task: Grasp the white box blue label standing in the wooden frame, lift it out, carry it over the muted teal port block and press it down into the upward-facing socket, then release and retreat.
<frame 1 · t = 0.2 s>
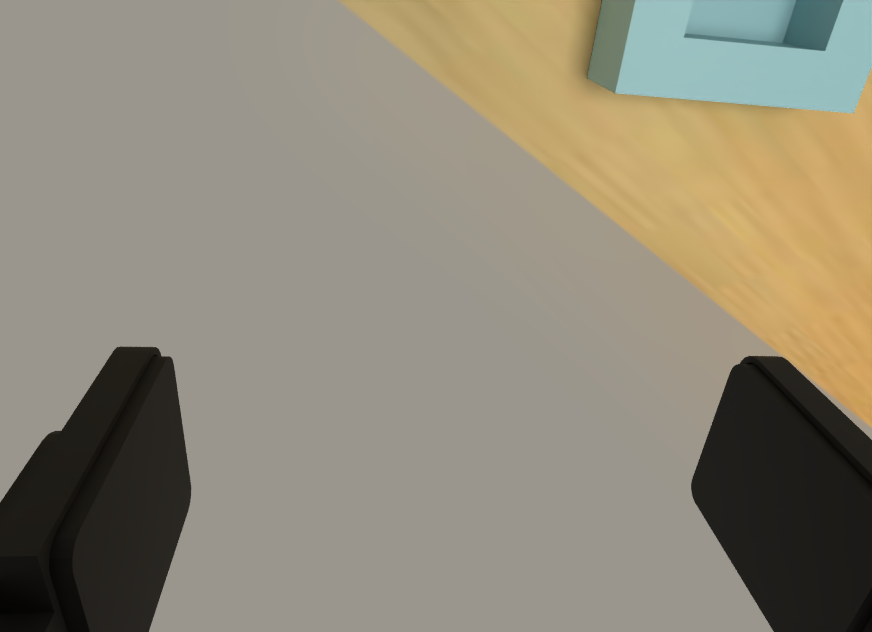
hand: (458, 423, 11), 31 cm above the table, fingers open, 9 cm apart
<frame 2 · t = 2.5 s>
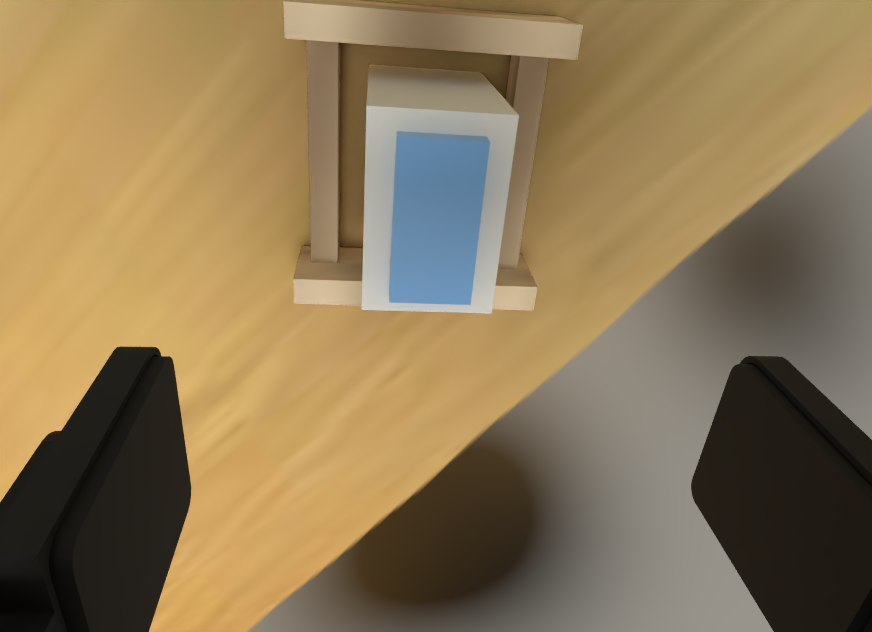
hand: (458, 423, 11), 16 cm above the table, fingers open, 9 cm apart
wooden frame: (420, 152, 24), on the table
white box blue label: (420, 152, 24), resting in wooden frame
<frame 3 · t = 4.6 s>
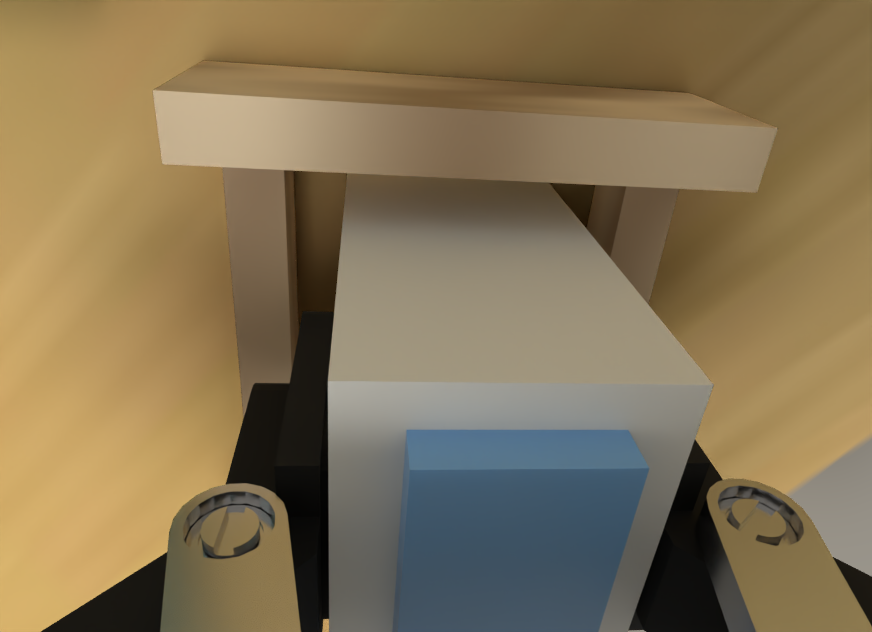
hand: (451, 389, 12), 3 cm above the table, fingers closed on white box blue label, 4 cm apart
wooden frame: (436, 316, 14), on the table
white box blue label: (437, 311, 14), resting in wooden frame, touching gripper
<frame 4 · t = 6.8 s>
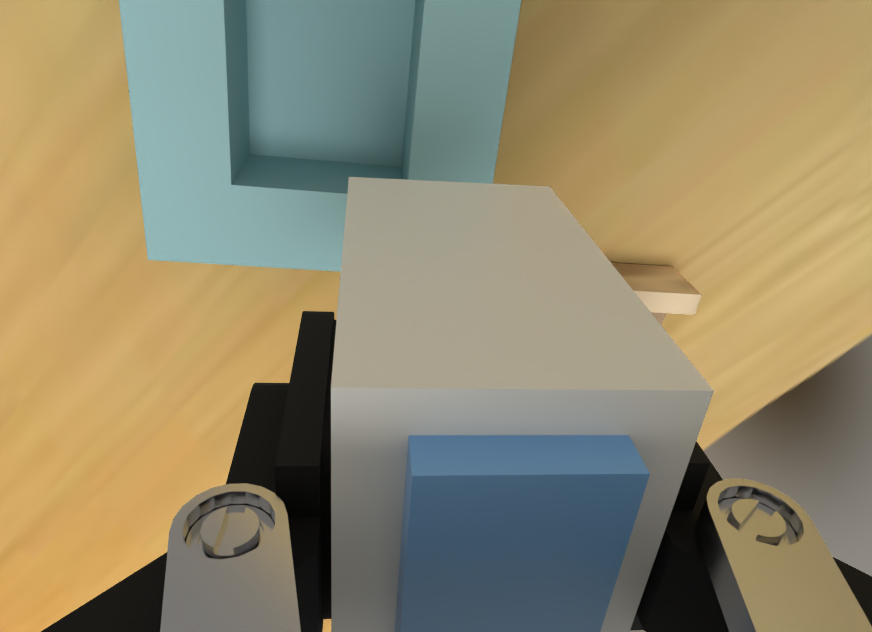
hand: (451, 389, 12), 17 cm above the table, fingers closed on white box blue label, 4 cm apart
wooden frame: (561, 350, 32), on the table
port: (331, 51, 25), on the table
white box blue label: (439, 314, 14), point 15 cm above the table, touching gripper
when the fingers open (5 cm above the table, at t = 9.3 s): white box blue label drops 2 cm, resting on port.
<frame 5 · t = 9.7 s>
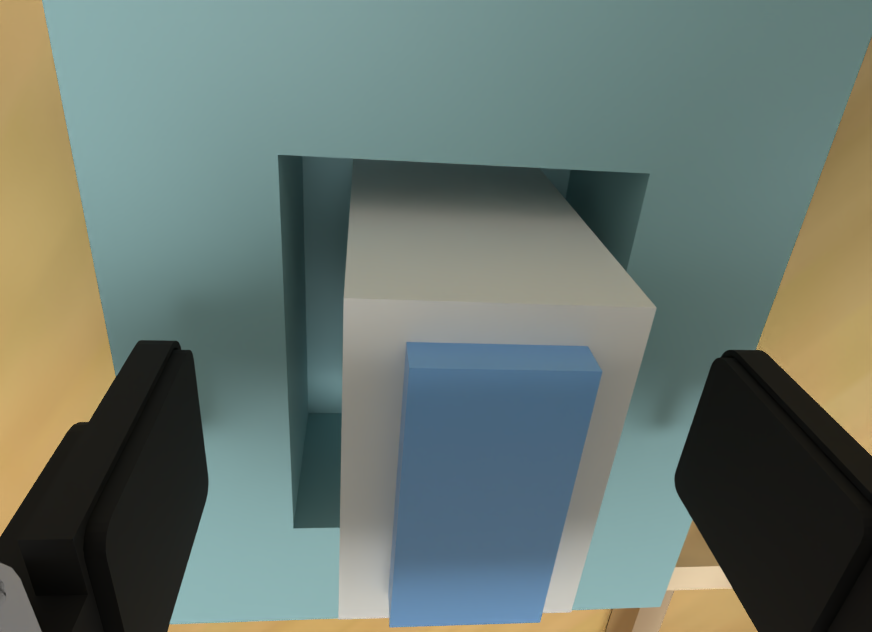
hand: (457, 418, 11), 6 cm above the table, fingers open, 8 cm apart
wooden frame: (719, 589, 24), on the table
port: (427, 264, 16), on the table
white box blue label: (433, 278, 16), point 1 cm above the table, touching port
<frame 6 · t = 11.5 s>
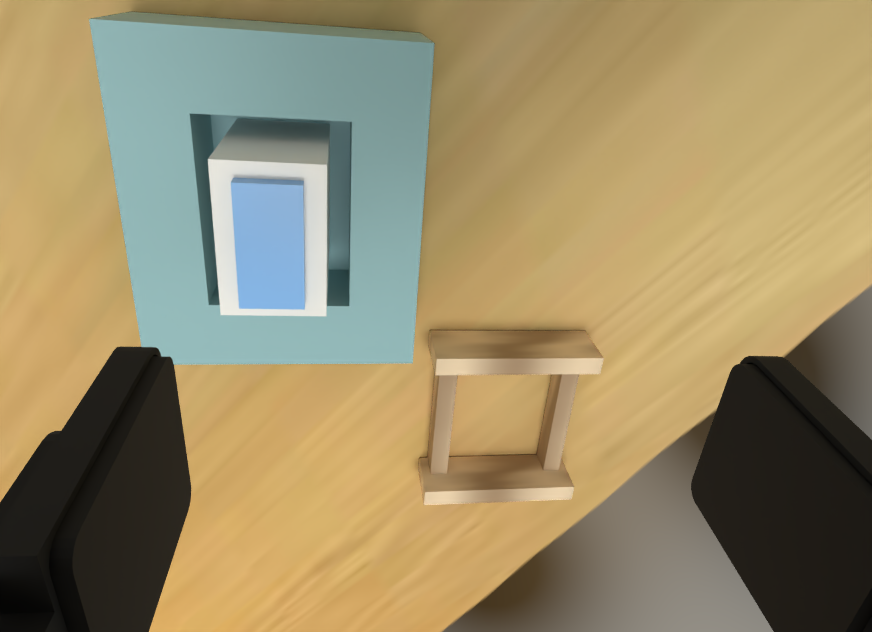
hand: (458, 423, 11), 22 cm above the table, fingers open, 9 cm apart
wooden frame: (498, 403, 38), on the table
port: (285, 183, 30), on the table
white box blue label: (285, 187, 30), point 1 cm above the table, touching port
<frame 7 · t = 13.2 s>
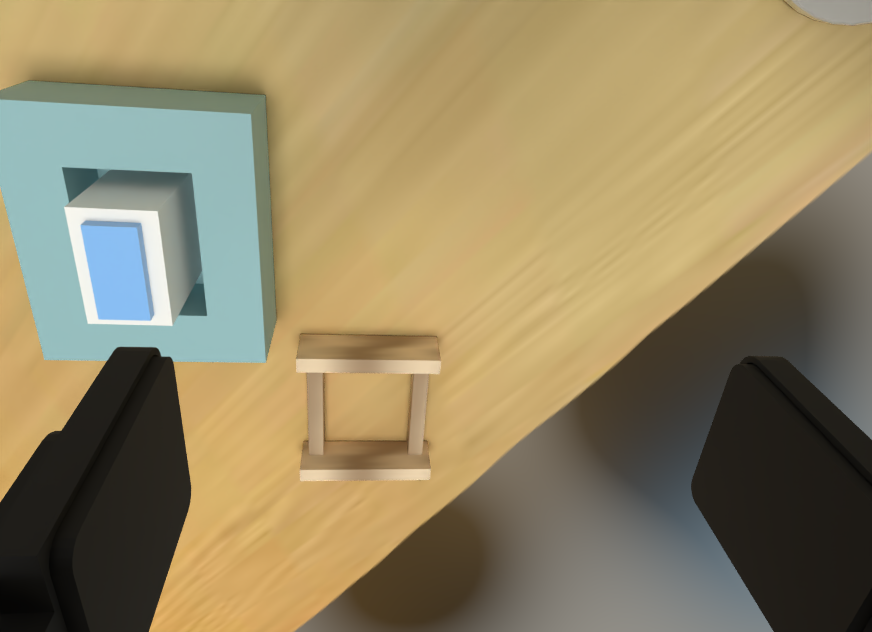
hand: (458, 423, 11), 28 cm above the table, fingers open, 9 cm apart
wooden frame: (367, 396, 45), on the table
port: (166, 213, 37), on the table
white box blue label: (162, 218, 36), point 1 cm above the table, touching port
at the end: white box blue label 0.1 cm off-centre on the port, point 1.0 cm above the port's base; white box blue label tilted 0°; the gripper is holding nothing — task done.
